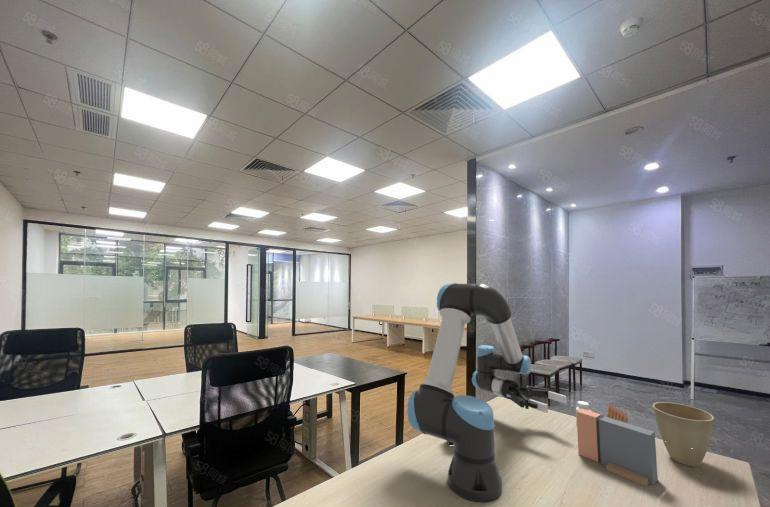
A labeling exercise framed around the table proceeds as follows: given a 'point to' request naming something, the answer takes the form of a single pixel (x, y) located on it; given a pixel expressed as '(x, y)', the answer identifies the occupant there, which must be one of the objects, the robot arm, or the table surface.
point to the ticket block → (627, 450)
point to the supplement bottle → (582, 407)
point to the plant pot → (684, 431)
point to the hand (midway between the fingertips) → (557, 404)
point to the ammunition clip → (616, 414)
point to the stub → (587, 434)
